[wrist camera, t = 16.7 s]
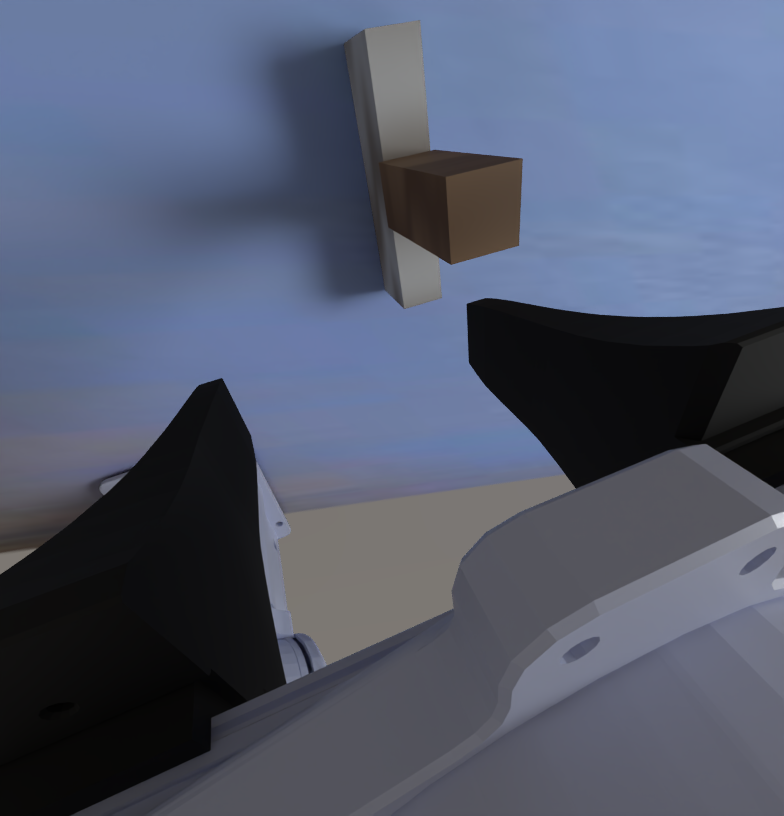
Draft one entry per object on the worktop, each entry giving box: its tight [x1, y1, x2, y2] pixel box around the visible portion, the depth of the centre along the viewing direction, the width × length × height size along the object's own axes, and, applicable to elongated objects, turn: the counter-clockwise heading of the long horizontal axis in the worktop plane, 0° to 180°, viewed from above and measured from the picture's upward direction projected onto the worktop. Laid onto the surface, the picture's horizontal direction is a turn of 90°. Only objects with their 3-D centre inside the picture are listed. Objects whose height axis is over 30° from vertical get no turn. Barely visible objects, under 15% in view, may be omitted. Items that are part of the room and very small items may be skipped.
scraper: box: [344, 20, 523, 309], centre depth 15 cm, size 10×2×9 cm, turn 10°
